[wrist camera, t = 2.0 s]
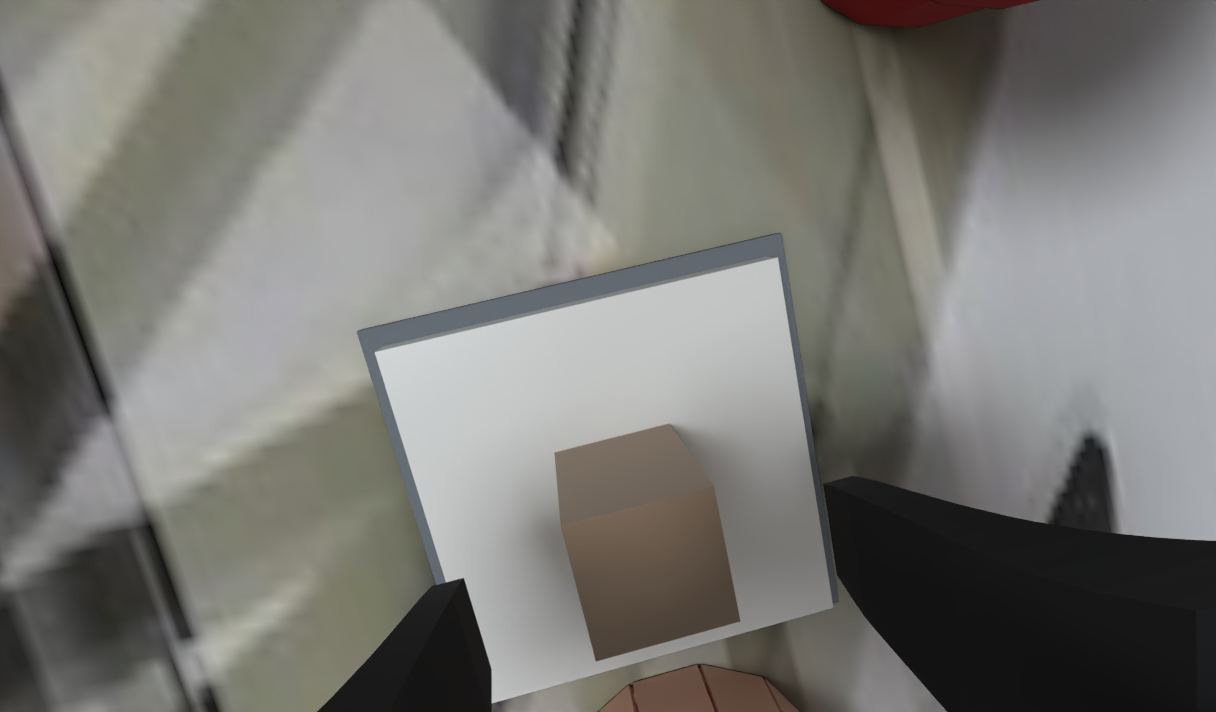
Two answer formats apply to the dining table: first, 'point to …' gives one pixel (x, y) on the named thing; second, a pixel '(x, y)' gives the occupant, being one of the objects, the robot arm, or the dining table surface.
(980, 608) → the robot arm
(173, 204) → the dining table surface
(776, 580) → the lid
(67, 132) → the dining table surface
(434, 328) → the mat
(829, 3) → the plastic cup
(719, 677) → the bowl
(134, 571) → the dining table surface
